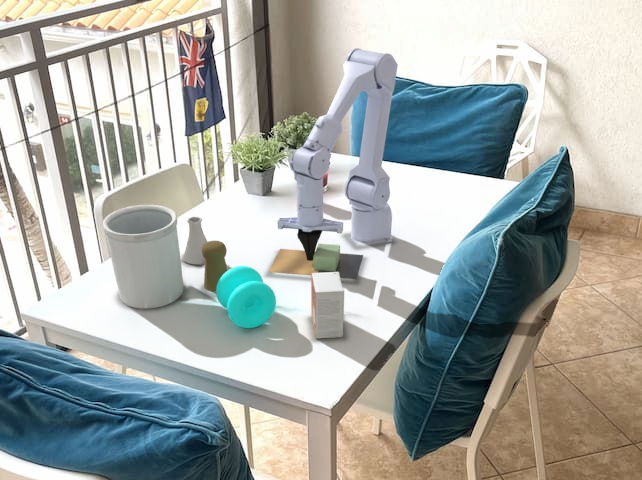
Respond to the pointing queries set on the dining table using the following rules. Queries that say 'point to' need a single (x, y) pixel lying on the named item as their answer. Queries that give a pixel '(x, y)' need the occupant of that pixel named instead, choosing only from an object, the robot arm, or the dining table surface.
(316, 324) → the small box
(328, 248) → the sage block
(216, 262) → the cork
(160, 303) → the utensil holder
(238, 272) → the turquoise spool
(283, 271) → the board
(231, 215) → the dining table surface
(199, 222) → the flask
